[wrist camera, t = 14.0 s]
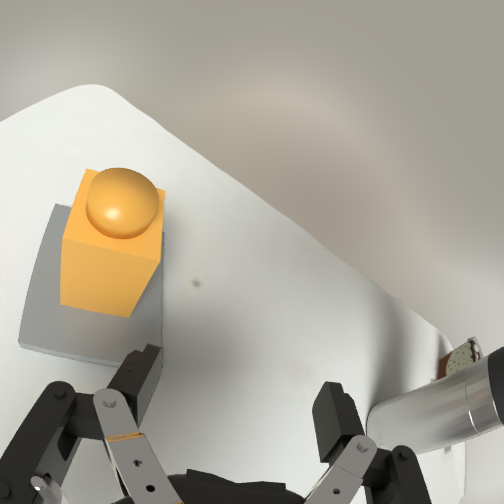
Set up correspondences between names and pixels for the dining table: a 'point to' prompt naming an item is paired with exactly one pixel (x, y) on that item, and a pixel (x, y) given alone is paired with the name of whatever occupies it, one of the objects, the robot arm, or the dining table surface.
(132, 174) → the tall orange stud brick
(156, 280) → the base
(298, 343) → the dining table surface
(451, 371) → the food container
